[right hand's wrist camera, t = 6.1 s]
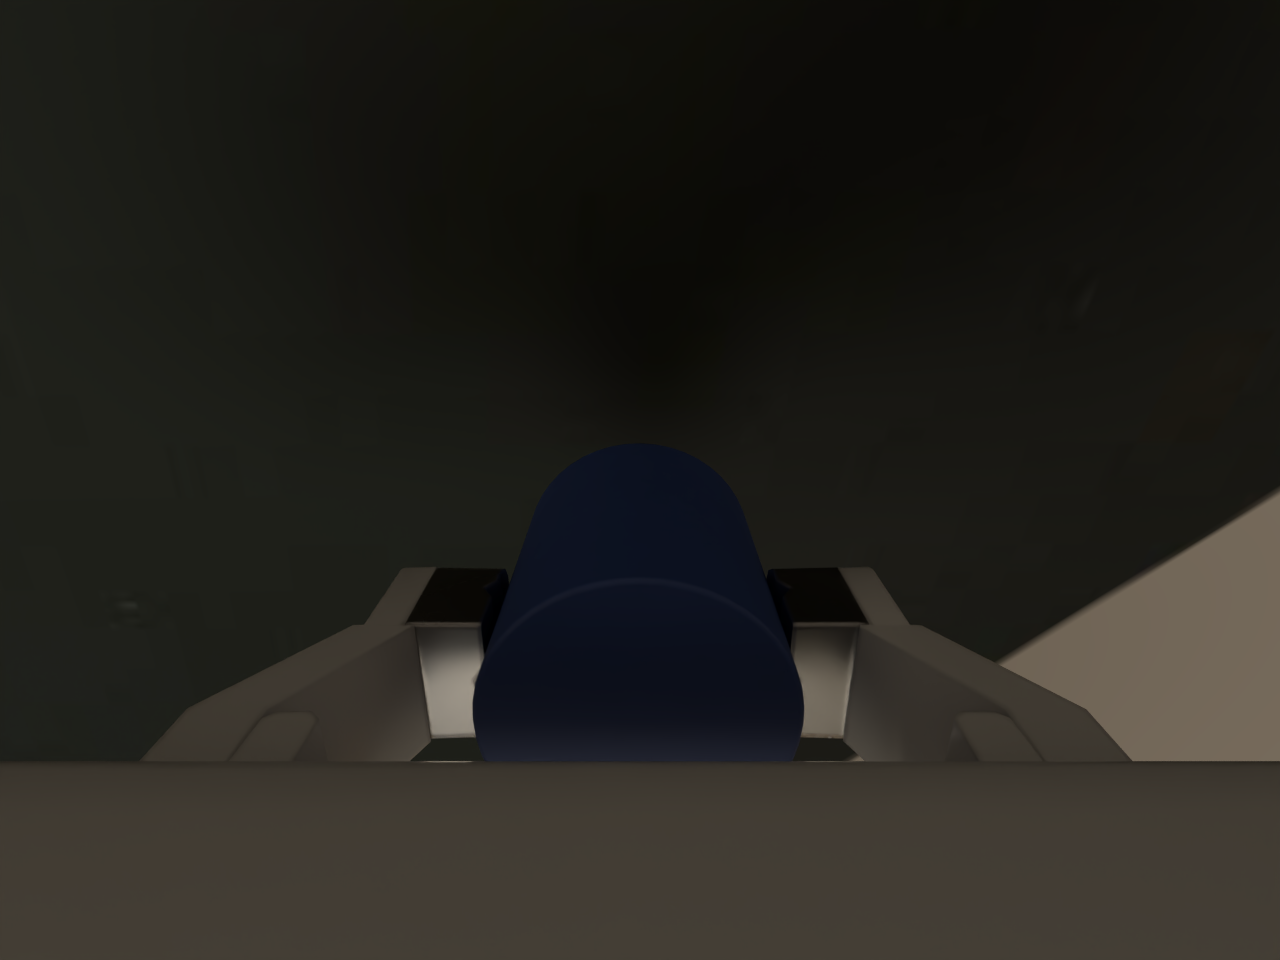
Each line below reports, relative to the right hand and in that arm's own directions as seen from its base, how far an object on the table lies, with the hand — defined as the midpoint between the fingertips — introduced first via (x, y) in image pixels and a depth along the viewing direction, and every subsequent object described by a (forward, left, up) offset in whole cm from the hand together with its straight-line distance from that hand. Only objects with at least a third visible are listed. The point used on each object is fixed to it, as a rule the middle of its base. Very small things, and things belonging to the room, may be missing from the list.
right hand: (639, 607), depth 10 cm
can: (0, 0, -2) cm, 2 cm away
